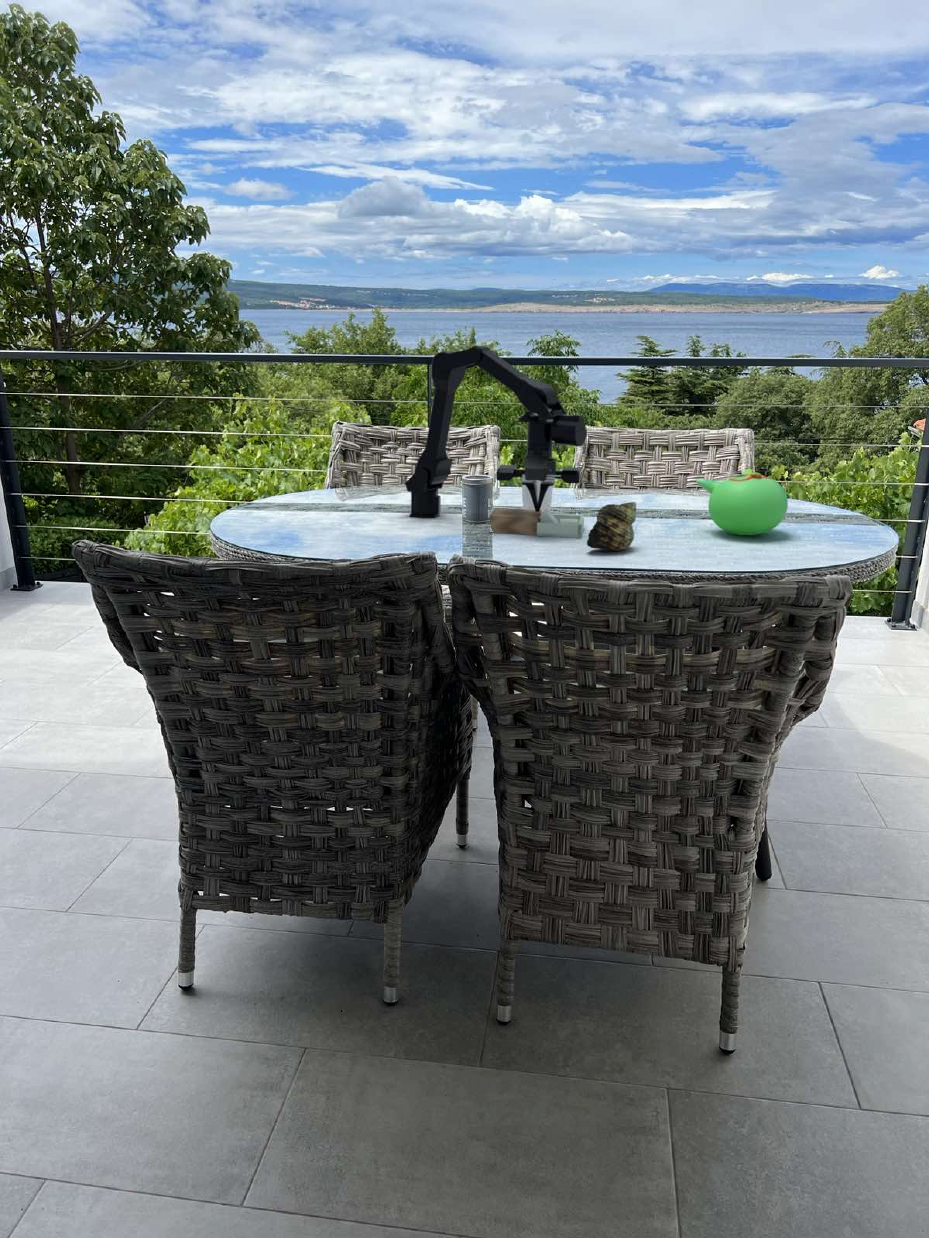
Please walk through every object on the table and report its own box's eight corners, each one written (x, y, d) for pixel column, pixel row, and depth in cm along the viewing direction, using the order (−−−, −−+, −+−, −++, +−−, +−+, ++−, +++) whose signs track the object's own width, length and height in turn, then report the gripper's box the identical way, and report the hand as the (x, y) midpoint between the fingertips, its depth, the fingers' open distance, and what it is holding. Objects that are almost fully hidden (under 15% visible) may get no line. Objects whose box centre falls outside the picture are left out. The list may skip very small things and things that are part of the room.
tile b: (577, 523, 225) (577, 531, 226) (577, 519, 229) (577, 527, 230) (560, 522, 226) (559, 530, 226) (560, 518, 229) (560, 527, 230)
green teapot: (738, 545, 217) (745, 478, 213) (688, 530, 231) (693, 467, 227) (799, 537, 225) (806, 473, 221) (747, 523, 239) (753, 463, 235)
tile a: (538, 517, 226) (545, 511, 225) (540, 513, 230) (546, 508, 229) (550, 530, 227) (556, 525, 226) (551, 526, 230) (558, 521, 230)
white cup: (550, 518, 243) (551, 477, 240) (518, 516, 244) (519, 476, 241) (554, 512, 250) (555, 472, 247) (523, 510, 252) (524, 471, 249)
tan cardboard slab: (489, 532, 226) (489, 515, 225) (494, 524, 235) (494, 508, 234) (537, 535, 225) (537, 517, 223) (540, 526, 233) (541, 510, 232)
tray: (536, 536, 224) (537, 522, 223) (541, 526, 234) (541, 513, 233) (581, 538, 222) (581, 525, 221) (583, 527, 232) (584, 515, 232)
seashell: (577, 544, 217) (580, 498, 214) (629, 543, 218) (631, 498, 215) (587, 555, 207) (590, 508, 204) (641, 555, 208) (644, 508, 205)
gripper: (493, 446, 217) (492, 516, 221) (579, 449, 214) (576, 520, 218) (500, 440, 227) (499, 507, 232) (582, 442, 224) (579, 510, 229)
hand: (537, 511), depth 228 cm, fingers closed
